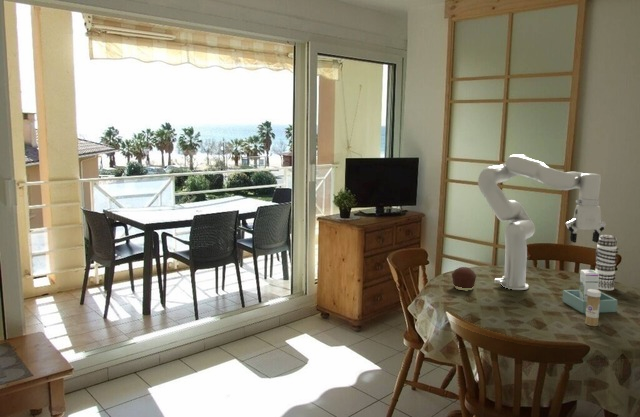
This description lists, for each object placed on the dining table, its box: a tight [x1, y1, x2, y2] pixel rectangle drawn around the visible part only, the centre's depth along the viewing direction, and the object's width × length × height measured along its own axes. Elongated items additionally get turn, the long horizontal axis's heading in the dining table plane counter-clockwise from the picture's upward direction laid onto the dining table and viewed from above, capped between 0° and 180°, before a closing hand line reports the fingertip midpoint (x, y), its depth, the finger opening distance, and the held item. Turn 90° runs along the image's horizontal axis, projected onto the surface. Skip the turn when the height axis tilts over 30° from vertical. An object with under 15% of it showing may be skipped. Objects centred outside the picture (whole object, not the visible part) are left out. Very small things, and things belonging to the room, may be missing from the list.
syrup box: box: [578, 269, 599, 301], centre depth 210 cm, size 6×6×14 cm
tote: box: [562, 289, 618, 314], centre depth 211 cm, size 15×15×5 cm
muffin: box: [451, 266, 477, 288], centre depth 237 cm, size 12×11×10 cm
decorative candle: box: [594, 234, 619, 291], centre depth 235 cm, size 9×9×25 cm
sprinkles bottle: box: [584, 289, 602, 327], centre depth 191 cm, size 5×5×13 cm
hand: (584, 241), depth 215 cm, fingers open, 9 cm apart
